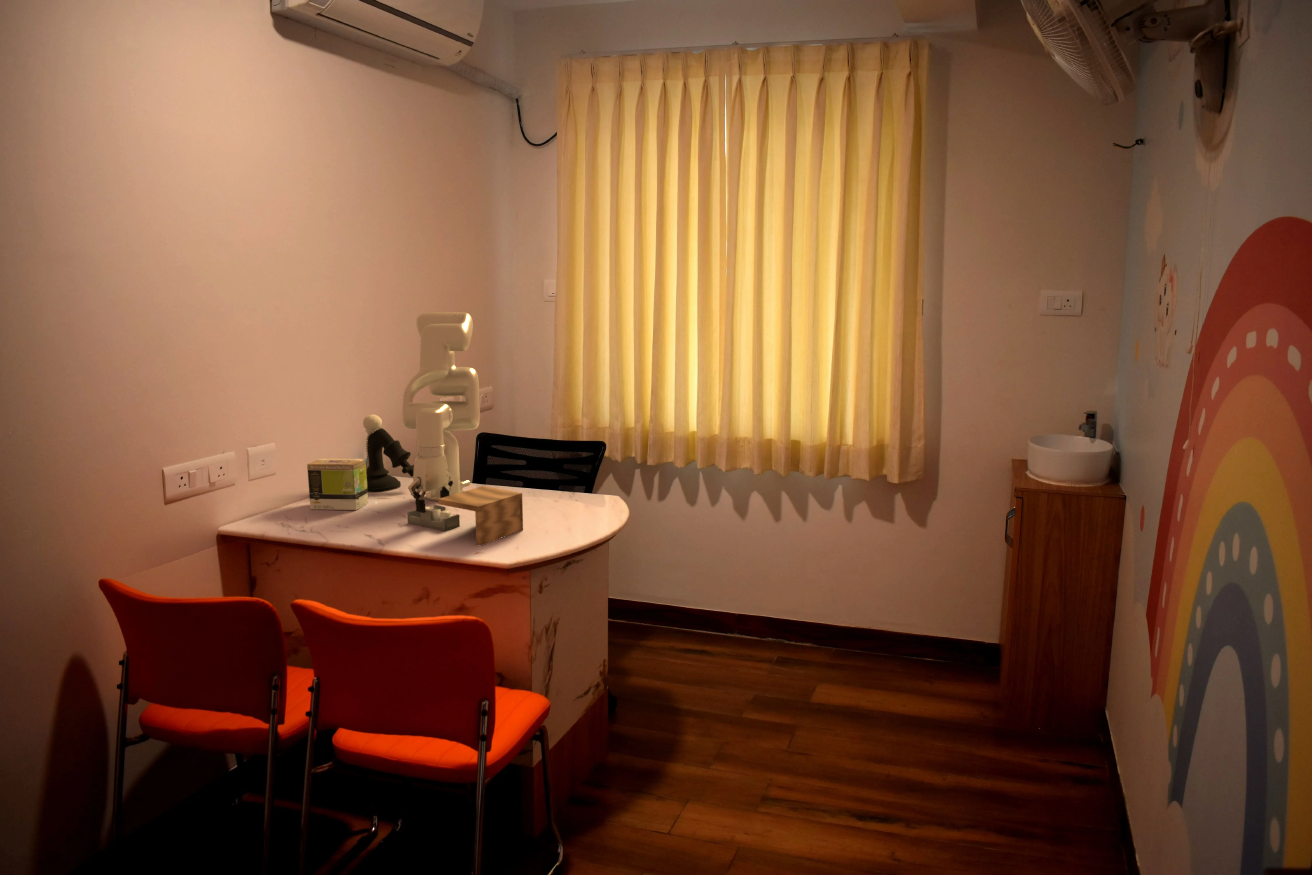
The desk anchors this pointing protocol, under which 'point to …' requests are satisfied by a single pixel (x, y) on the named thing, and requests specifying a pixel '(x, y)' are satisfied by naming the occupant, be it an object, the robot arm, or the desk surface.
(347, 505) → the tea box
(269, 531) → the desk surface
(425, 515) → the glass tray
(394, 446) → the sculpture
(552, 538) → the desk surface
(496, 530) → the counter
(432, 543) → the desk surface
